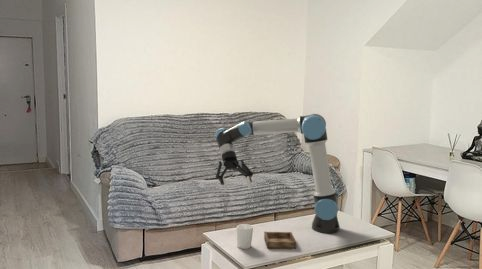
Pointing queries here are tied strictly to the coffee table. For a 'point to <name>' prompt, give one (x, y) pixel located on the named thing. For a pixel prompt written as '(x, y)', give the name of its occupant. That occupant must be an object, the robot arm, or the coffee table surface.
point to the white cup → (244, 235)
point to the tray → (279, 240)
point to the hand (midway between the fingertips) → (238, 189)
